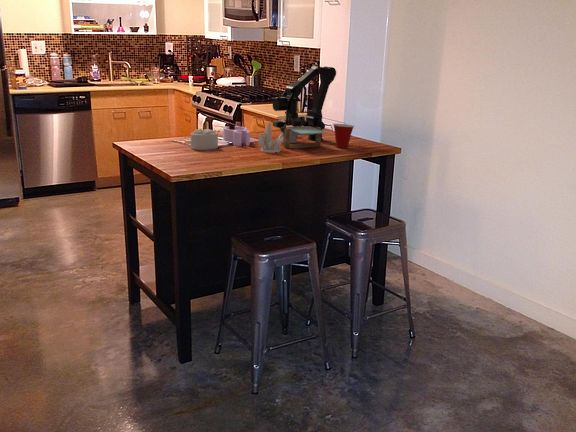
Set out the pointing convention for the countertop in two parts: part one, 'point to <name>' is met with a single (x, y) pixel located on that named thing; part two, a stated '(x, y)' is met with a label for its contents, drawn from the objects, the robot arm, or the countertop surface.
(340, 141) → the plastic cup
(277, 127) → the robot arm
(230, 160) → the countertop surface
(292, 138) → the stone
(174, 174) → the countertop surface
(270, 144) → the crystal
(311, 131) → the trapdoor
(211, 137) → the lumpy-topped squat cylinder
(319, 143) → the frame
